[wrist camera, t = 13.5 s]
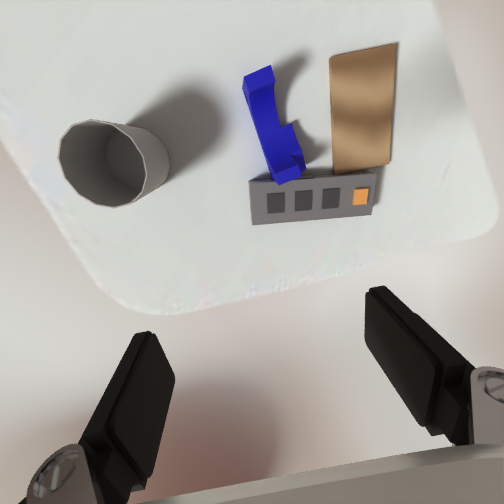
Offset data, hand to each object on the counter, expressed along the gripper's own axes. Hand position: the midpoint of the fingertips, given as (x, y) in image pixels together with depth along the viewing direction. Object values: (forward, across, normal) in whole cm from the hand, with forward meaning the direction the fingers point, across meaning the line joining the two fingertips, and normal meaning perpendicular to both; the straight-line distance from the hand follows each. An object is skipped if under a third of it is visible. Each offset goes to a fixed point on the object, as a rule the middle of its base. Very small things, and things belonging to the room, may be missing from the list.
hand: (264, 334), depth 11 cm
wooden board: (+28, -18, -8) cm, 34 cm away
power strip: (+29, -10, +2) cm, 30 cm away
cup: (+28, +13, -8) cm, 32 cm away
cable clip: (+29, -6, -8) cm, 30 cm away
